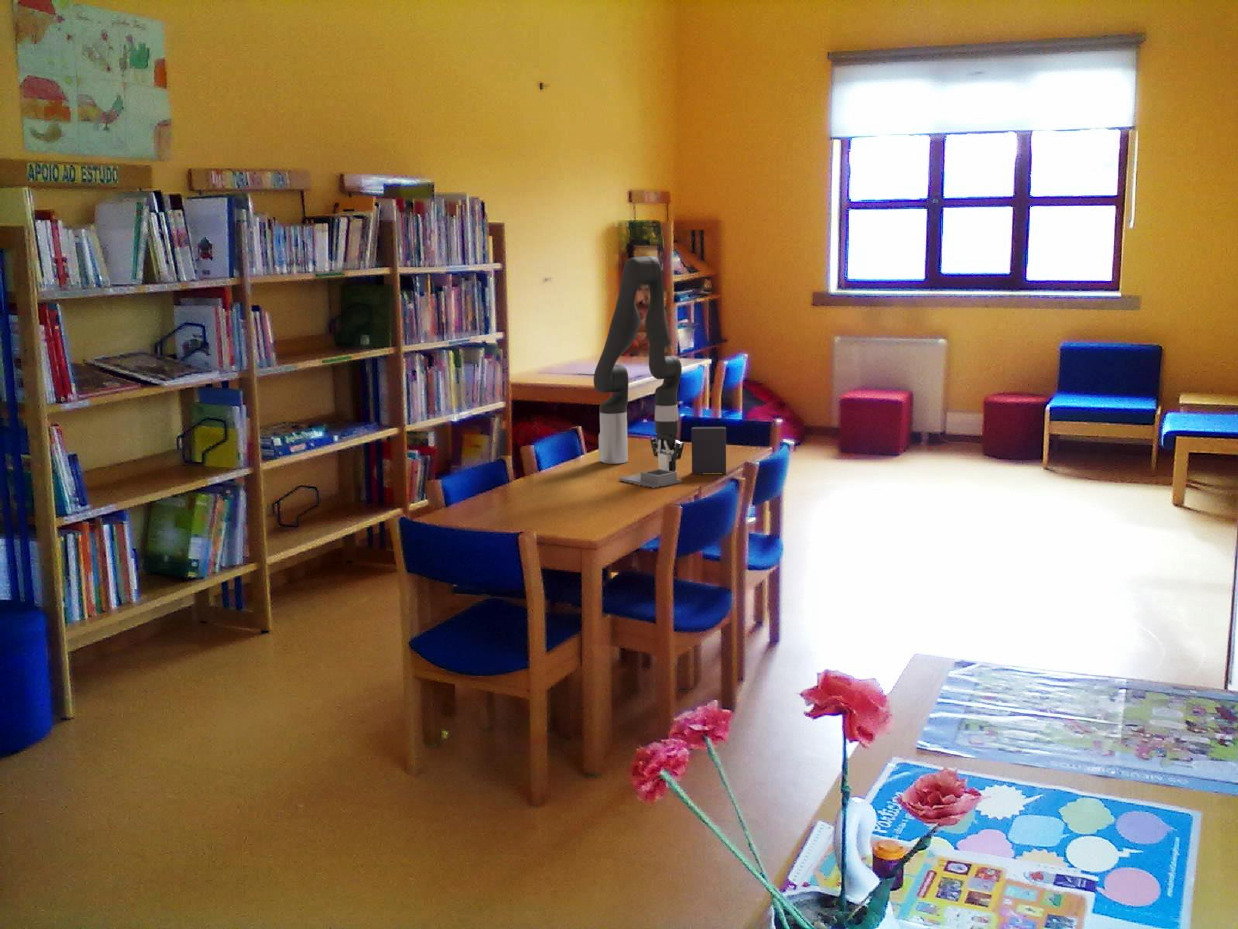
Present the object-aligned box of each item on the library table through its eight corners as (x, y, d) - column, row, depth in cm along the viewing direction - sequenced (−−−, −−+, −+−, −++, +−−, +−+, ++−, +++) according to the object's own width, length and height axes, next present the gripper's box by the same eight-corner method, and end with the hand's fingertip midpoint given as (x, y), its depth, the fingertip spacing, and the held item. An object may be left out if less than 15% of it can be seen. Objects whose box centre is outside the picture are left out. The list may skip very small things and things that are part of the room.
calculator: (726, 472, 389) (725, 426, 387) (726, 474, 385) (725, 428, 382) (692, 472, 391) (691, 426, 388) (691, 474, 386) (691, 428, 383)
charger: (658, 475, 387) (658, 451, 386) (667, 473, 390) (667, 449, 388) (667, 476, 384) (666, 452, 383) (676, 474, 387) (675, 451, 385)
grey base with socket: (619, 481, 379) (618, 470, 378) (647, 475, 387) (647, 464, 386) (653, 488, 367) (652, 477, 366) (681, 482, 375) (681, 471, 374)
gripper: (642, 417, 386) (644, 470, 390) (673, 422, 376) (673, 476, 379) (660, 415, 391) (661, 466, 394) (690, 419, 380) (691, 472, 384)
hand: (667, 471), depth 387 cm, fingers closed on charger, 4 cm apart
